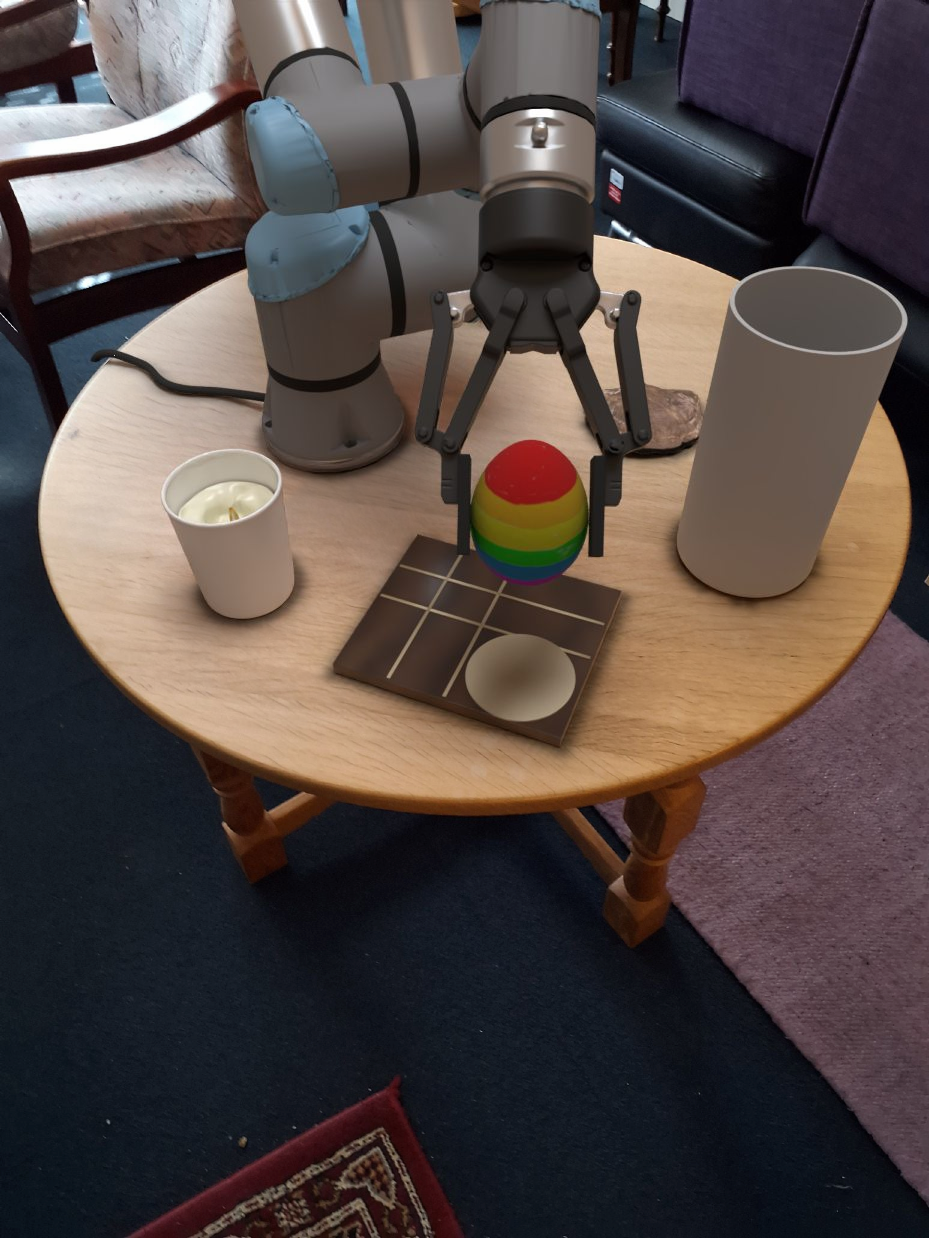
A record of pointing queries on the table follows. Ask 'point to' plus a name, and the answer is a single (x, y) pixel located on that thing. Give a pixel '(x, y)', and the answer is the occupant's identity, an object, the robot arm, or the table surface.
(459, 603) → the board
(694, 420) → the shell
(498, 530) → the decorative egg
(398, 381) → the table surface
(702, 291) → the table surface
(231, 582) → the candle holder
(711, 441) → the cylinder vase
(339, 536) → the table surface
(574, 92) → the robot arm
